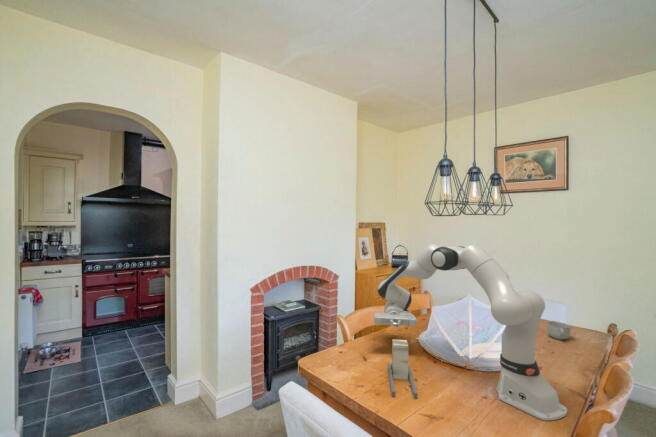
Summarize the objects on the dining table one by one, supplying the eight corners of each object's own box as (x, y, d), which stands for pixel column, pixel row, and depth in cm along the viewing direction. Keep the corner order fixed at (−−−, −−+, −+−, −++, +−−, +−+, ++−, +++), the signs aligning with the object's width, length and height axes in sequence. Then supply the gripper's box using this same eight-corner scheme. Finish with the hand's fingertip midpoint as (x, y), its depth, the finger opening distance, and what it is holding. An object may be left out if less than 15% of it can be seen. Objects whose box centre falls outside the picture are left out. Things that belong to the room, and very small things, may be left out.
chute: (386, 370, 138) (386, 363, 138) (410, 372, 137) (410, 365, 137) (390, 399, 116) (390, 391, 116) (418, 401, 115) (418, 393, 115)
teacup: (547, 332, 185) (547, 319, 185) (570, 337, 178) (570, 323, 178) (546, 340, 173) (546, 325, 173) (571, 345, 167) (571, 330, 167)
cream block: (392, 371, 135) (392, 339, 135) (406, 372, 134) (406, 340, 134) (393, 378, 129) (393, 345, 129) (408, 379, 128) (408, 345, 128)
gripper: (373, 308, 163) (374, 317, 149) (413, 310, 160) (418, 319, 146) (373, 320, 163) (373, 330, 149) (413, 323, 160) (417, 333, 147)
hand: (396, 325), depth 148 cm, fingers closed
